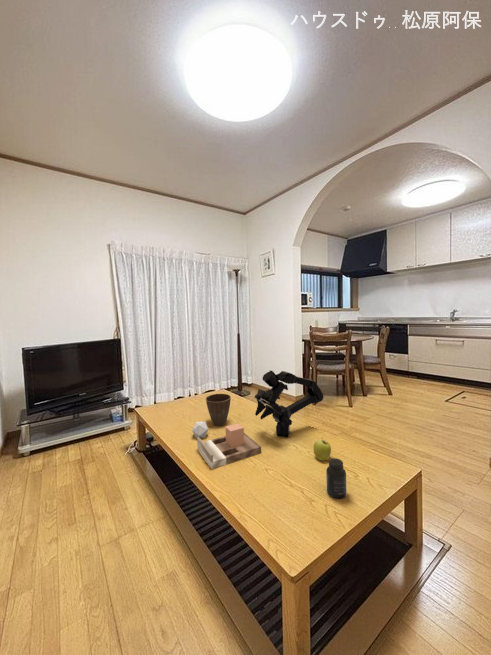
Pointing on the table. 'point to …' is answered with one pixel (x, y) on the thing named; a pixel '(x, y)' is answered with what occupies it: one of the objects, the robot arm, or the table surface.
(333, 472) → the supplement bottle
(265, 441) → the table surface
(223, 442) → the brown piece
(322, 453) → the apple
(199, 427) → the die
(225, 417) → the plant pot
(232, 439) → the block
